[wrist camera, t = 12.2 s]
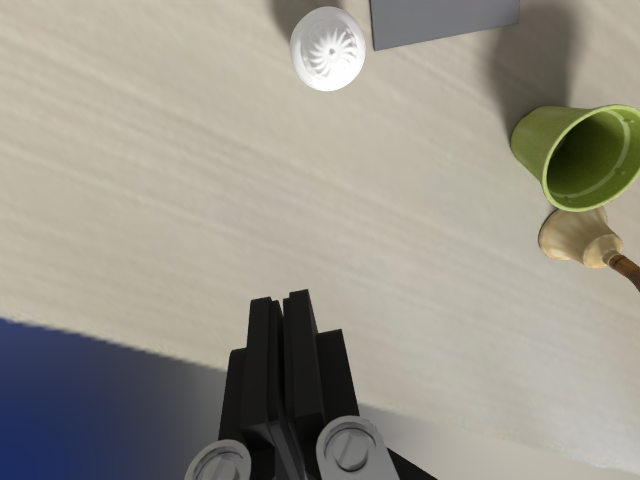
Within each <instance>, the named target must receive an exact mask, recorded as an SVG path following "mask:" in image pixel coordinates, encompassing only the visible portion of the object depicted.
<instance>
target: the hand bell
mask: <svg viewBox="0 0 640 480" xmlns="http://www.w3.org/2000/svg"><path fill="white" fill-rule="evenodd" d="M539 245H540V249H541V251H542V252H543V253H544V254H545V255H546V256H548V257H550V258H552V259H557V260H568V259H574V260H576V261H578V262H580V263H582V264H584V265H585V266H587V267H590V268H602V267H605V266H607V265H608V266H610V267H611V268H612V269H614V270H616V271H617V272H619V273H620V274H622V275H623V276H625V277H626V278H628V279H629V280H630V281H631V282H632V283H633V284H634V285H635V286H636V288H637V289H638V291H639V292H640V267H639V266H637V265H636V264H635V263H633V262H632V261H630V260H629V259H628V258H627V257H625V256H624V255H621V254H620V253H621V251H622V248H623V243H622V240H621V238H620V237H619V236H618V235H616V234H615V233H614V232H613V231H612V230H611V229H610V228H609V227H608V226H607V215H606V212H605V210H604V208H603V207H602V206H600V207H597V208H594V209H591V210H587V211H580V212H573V211H566V210H562V209H560V208H559V209H558V210H556V211H555V212H554V213H553V214H552V215H551V216H550V217H549V218H548V219H547V221H546V222H545V223H544V225H543V227H542V229H541V231H540V235H539Z"/></svg>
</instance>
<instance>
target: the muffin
mask: <svg viewBox="0 0 640 480" xmlns="http://www.w3.org/2000/svg"><path fill="white" fill-rule="evenodd" d="M290 54H291V59H292V63H293V66H294V69H295V71H296V73H297V74H298V76H299V77H300V78H301V80H302V81H303V82H305V83H306V84H307V85H309V86H310V87H312V88H314V89H317V90H321V91H333V90H337V89H340V88H342V87H344V86H346V85H347V84H348V83H350V82H351V81H352V80H353V79H354V78H355V77H356V76H357V74H358V73H359V71H360V70H361V68H362V65H363V63H364V59H365V40H364V36H363V32H362V30H361V28H360V26H359V24H358V22H357V21H356V20H355V19H354V17H353V16H351V15H350V14H349V13H348V12H346V11H344V10H342V9H340V8H336V7H331V6H326V7H320V8H317V9H315V10H313V11H311V12H309V13H308V14H307V15H305V16H304V17H303V18H302V19H301V20H300V22H299V23H298V24H297V26H296V27H295V29H294V31H293V33H292V36H291V40H290Z"/></svg>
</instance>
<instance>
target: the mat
mask: <svg viewBox="0 0 640 480" xmlns="http://www.w3.org/2000/svg"><path fill="white" fill-rule="evenodd" d="M370 5H371V17H372V29H373V41H374V51H378V50H383V49H389V48H394V47H399V46H404V45H409V44H414V43H419V42H424V41H430V40H435V39H440V38H445V37H450V36H455V35H460V34H465V33H471V32H476V31H481V30H486V29H491V28H496V27H501V26H506V25H512V24H517V23H518V16H519V5H520V0H370Z"/></svg>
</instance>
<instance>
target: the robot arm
mask: <svg viewBox="0 0 640 480" xmlns="http://www.w3.org/2000/svg"><path fill="white" fill-rule="evenodd" d="M304 471H305V473H306V476H307V479H308V480H437V479H436V478H435V477H433V476H431V475H430V474H428V473H427V472H425V471H423V470H422V469H420V468H419V467H417V466H416V465H414V464H412V463H411V462H409V461H408V460H406V459H404V458H403V457H401V456H400V455H398V454H397V453H395V452H393V451H392V450H390V449H389V448H387V447H386V446H385V443H384V441H383V439H382V436H381V434H380V433H379V431H378V430H377V428H376V426H374V425H373V424H372V423H371V422H369V421H368V420H366V419H364V418H361V417H360V415H359V410H358V405H357V400H356V395H355V391H354V386H353V381H352V376H351V372H350V367H349V362H348V357H347V353H346V348H345V343H344V338H343V334H342V329H338V330H333V331H328V332H323V333H318V330H317V326H316V321H315V317H314V313H313V308H312V304H311V300H310V296H309V292H308V289H305V290H300V291H295V292H290V293H289V298H285V299H283V314H282V311H281V307H280V304H279V301H278V300H275V301H272V299H271V297H265V298H260V299H254V300H251V303H250V314H249V325H248V336H247V347H246V348H241V349H236V350H232V351H231V353H230V357H229V365H228V372H227V379H226V386H225V394H224V401H223V408H222V415H221V423H220V430H219V437H218V441H217V442H215V443H213V444H211V445H209V446H207V447H206V448H204V449H203V450H202V451H201V452H200V453H198V455H197V456H196V457H195V459H194V460H193V461H192V462H191V464H190V466H189V468H188V471H187V473H186V475H185V478H184V480H305V474H304Z"/></svg>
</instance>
